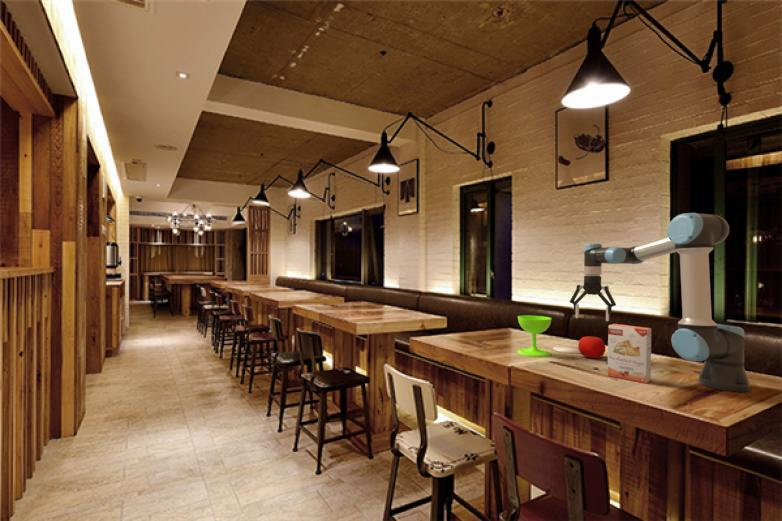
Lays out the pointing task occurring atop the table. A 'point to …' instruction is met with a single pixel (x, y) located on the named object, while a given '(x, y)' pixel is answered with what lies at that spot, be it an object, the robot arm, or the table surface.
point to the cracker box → (629, 352)
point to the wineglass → (534, 333)
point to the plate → (567, 349)
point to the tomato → (591, 347)
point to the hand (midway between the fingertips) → (591, 319)
